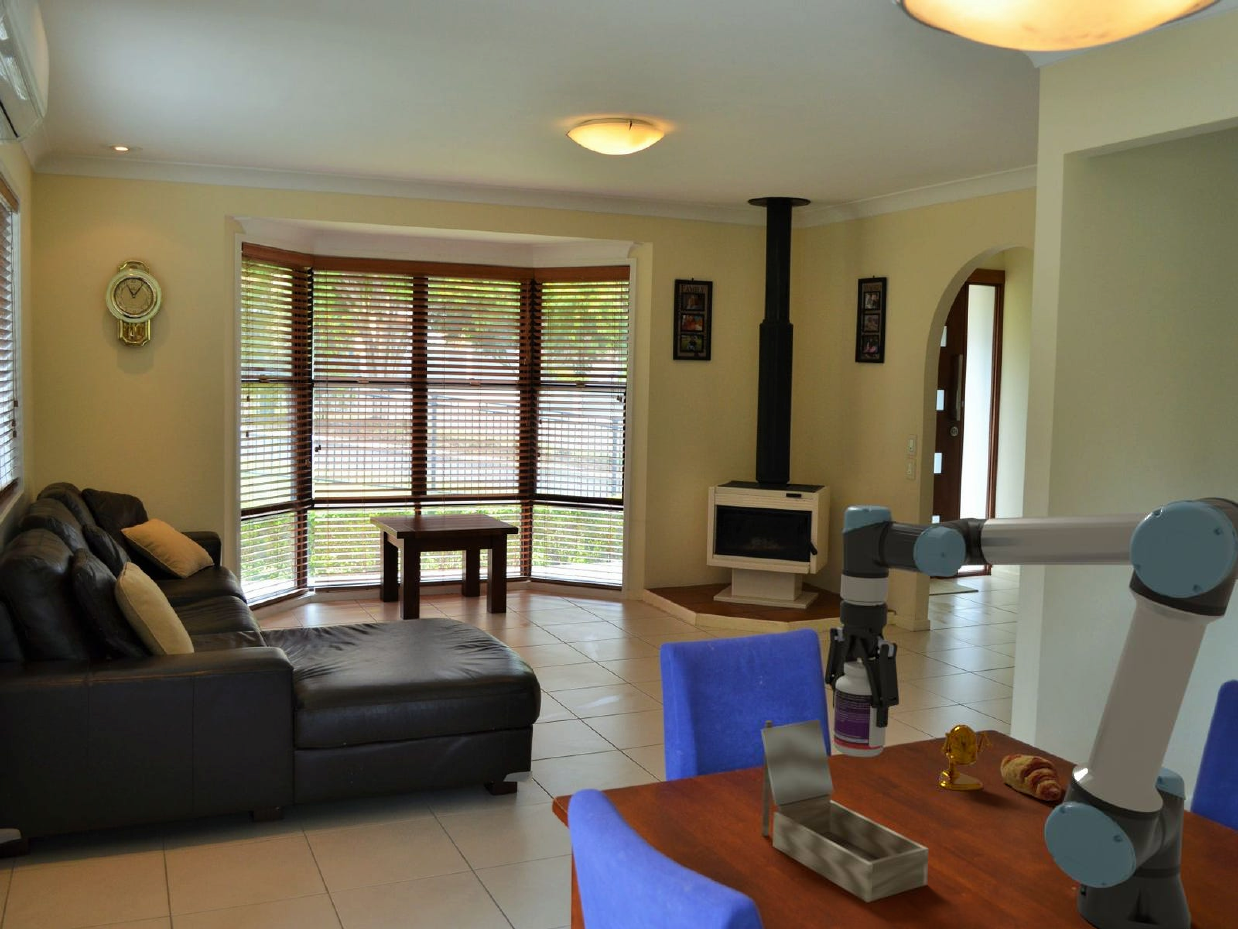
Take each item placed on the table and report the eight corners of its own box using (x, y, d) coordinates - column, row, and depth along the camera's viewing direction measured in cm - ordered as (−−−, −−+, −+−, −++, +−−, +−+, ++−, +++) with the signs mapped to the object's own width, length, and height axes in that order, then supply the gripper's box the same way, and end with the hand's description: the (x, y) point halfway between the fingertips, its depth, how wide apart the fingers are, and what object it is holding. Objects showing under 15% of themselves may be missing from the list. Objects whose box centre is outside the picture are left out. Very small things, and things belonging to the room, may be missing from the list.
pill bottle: (883, 762, 172) (887, 673, 171) (832, 756, 174) (835, 669, 173) (883, 746, 180) (886, 661, 179) (834, 741, 182) (837, 657, 181)
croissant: (992, 785, 223) (976, 751, 222) (1033, 762, 224) (1018, 728, 223) (1043, 824, 202) (1025, 787, 201) (1089, 798, 203) (1071, 761, 202)
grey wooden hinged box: (926, 884, 169) (932, 759, 167) (867, 902, 162) (872, 772, 161) (811, 822, 192) (815, 712, 191) (754, 835, 186) (758, 722, 184)
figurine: (950, 794, 207) (953, 733, 207) (926, 774, 218) (929, 716, 217) (992, 793, 209) (995, 732, 208) (966, 773, 219) (969, 716, 218)
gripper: (927, 611, 168) (921, 754, 169) (840, 588, 186) (835, 717, 187) (891, 615, 164) (885, 760, 166) (805, 591, 182) (800, 722, 184)
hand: (858, 737), depth 177 cm, fingers closed on pill bottle, 8 cm apart
